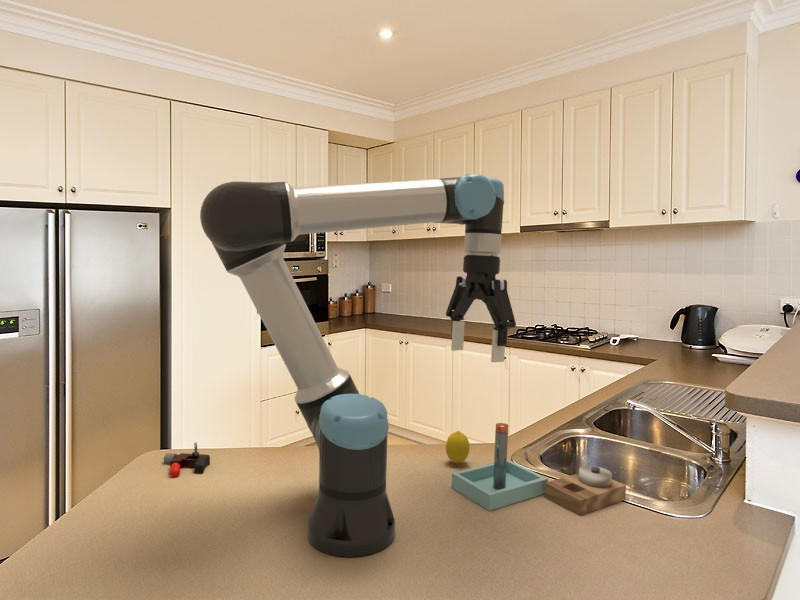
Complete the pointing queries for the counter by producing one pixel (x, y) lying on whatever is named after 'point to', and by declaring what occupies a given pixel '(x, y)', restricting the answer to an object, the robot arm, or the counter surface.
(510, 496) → the tray
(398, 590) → the counter surface
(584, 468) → the block
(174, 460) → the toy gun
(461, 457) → the lemon
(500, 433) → the pin
